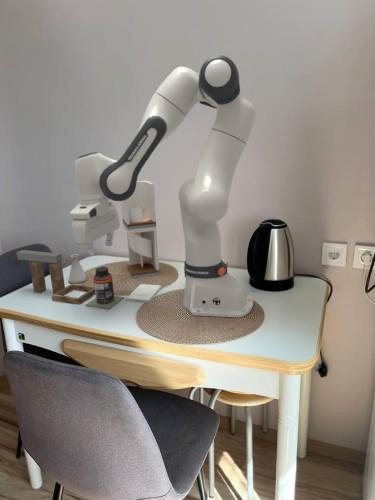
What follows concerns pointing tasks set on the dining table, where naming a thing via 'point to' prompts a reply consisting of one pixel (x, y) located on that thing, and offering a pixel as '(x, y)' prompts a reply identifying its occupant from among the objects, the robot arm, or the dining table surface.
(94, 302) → the mat
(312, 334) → the dining table surface
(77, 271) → the flask
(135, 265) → the candle lantern
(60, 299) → the holder
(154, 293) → the external hard drive
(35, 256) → the grey rectangular bar
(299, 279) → the dining table surface
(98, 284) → the supplement bottle
